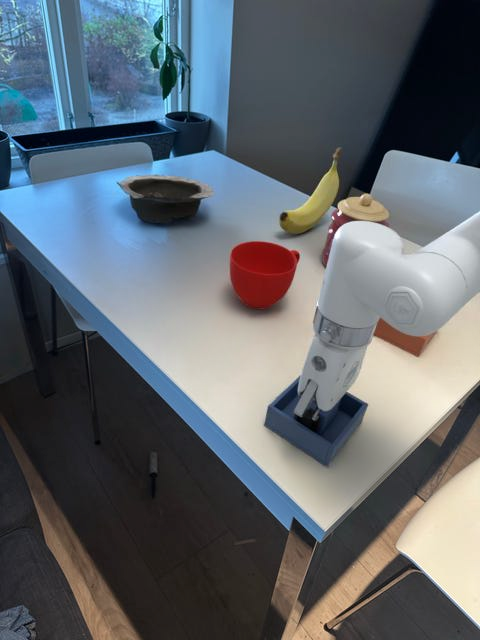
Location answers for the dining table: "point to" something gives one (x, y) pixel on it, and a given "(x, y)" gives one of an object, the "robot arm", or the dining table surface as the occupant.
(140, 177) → the stone bowl
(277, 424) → the slate bin
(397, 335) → the terracotta bin
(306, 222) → the banana
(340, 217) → the kitchen canister
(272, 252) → the ceramic cup
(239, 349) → the dining table surface
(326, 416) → the block
